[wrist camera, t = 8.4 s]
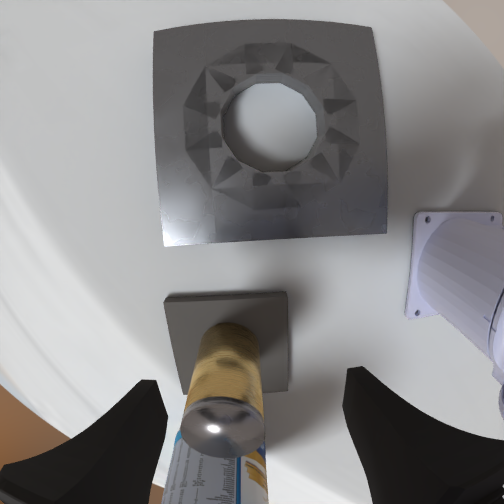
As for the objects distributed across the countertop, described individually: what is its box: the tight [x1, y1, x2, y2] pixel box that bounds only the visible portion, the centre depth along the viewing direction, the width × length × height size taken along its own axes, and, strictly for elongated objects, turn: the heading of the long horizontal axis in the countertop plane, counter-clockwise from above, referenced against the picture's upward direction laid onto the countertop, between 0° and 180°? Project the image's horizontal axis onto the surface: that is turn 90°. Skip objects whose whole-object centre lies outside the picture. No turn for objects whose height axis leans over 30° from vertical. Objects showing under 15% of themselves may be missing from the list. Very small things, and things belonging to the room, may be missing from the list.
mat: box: [163, 291, 288, 395], centre depth 20 cm, size 8×8×1 cm
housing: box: [153, 19, 388, 246], centre depth 16 cm, size 13×13×2 cm
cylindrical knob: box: [180, 323, 265, 458], centre depth 16 cm, size 4×4×8 cm
